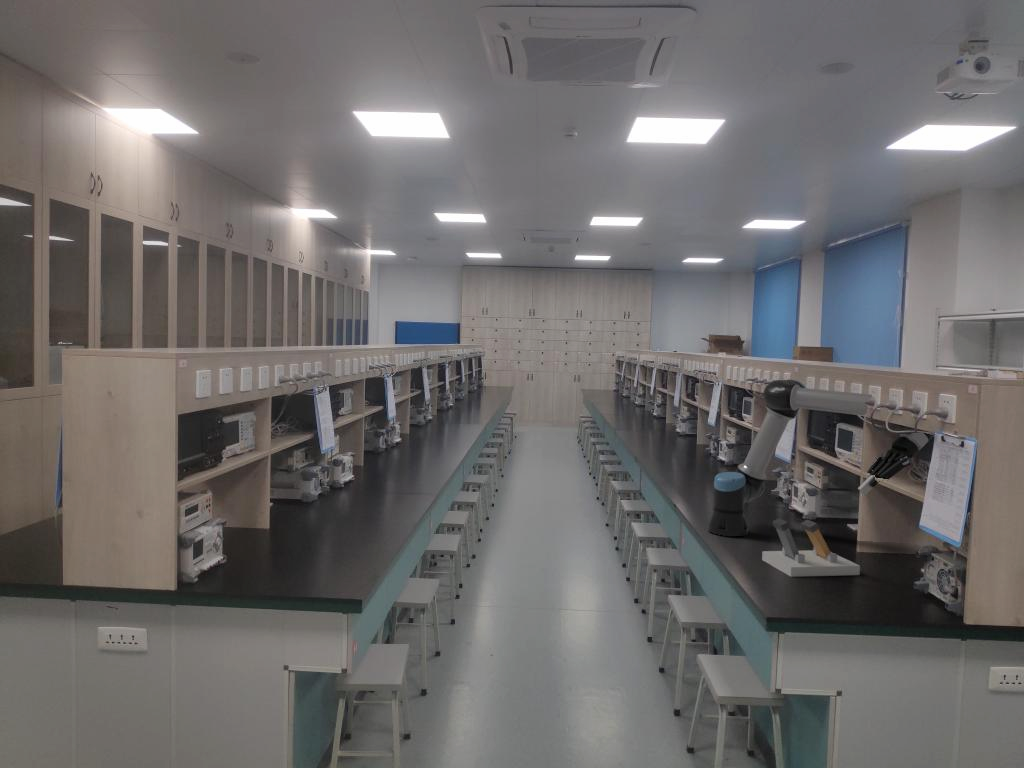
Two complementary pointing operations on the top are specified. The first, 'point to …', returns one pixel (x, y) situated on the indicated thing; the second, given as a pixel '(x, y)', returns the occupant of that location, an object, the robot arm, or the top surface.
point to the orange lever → (816, 538)
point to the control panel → (810, 564)
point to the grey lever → (786, 537)
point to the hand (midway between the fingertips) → (861, 491)
